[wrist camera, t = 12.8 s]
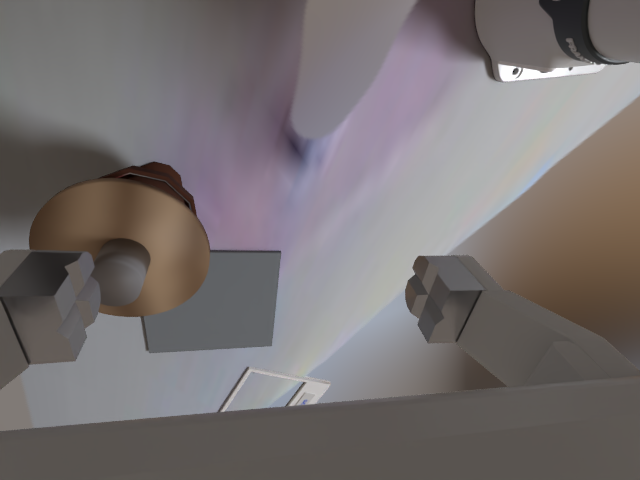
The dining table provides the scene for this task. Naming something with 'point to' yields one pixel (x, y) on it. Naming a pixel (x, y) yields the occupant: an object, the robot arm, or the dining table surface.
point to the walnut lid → (128, 243)
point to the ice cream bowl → (157, 180)
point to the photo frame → (303, 396)
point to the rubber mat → (223, 306)
